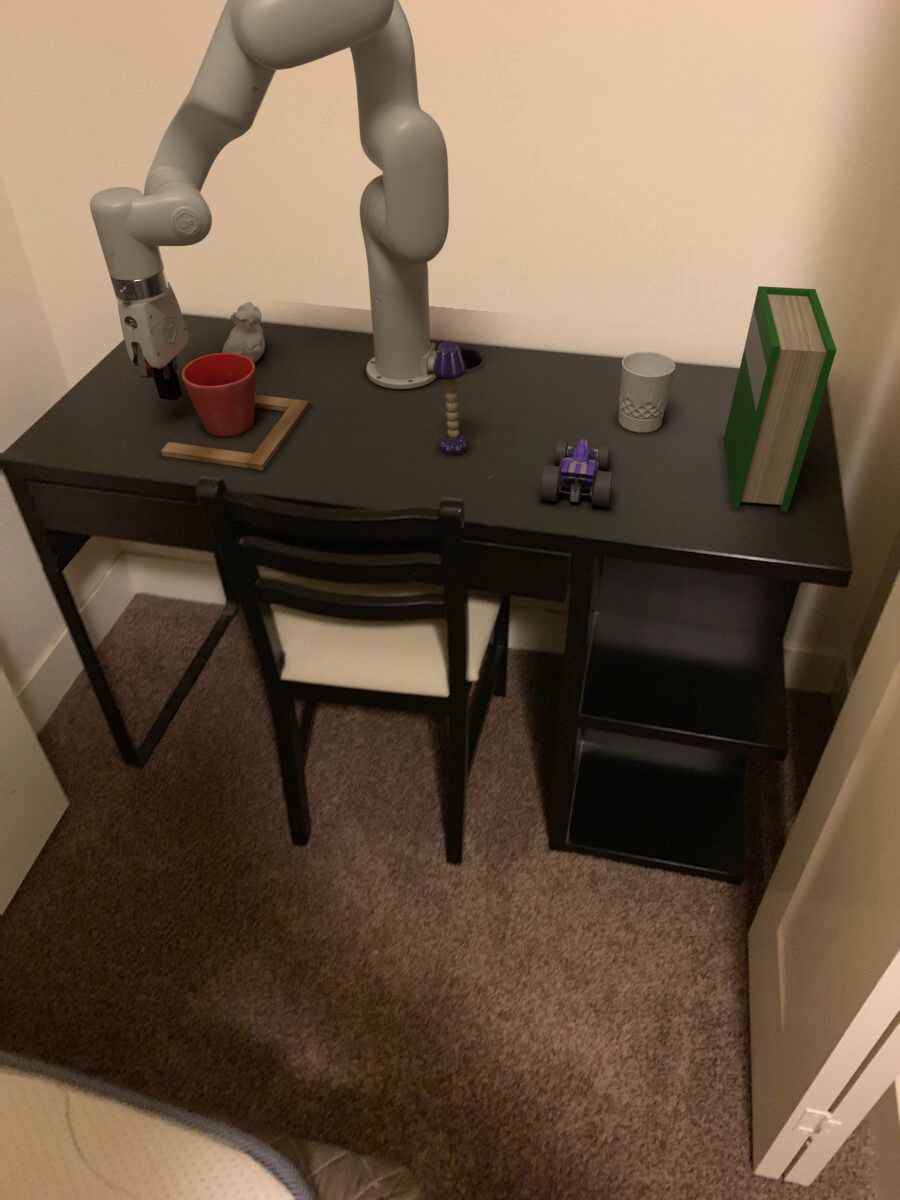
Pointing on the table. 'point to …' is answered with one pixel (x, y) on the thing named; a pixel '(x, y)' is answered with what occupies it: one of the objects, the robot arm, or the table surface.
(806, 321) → the hardback book
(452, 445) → the toy lamp
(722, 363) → the table surface
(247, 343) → the bust
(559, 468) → the toy race car
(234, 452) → the frame
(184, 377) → the flower pot
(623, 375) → the white cup
